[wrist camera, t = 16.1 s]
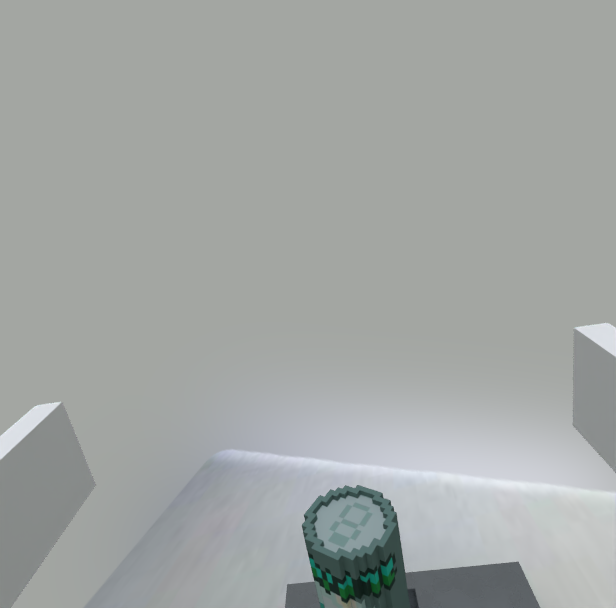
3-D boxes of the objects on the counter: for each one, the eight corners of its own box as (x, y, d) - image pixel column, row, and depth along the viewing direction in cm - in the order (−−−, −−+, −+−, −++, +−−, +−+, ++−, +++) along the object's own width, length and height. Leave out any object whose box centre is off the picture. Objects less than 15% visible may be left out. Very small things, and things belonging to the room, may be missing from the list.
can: (323, 687, 34) (286, 536, 29) (361, 617, 38) (334, 477, 34) (397, 736, 30) (367, 574, 26) (429, 653, 35) (409, 501, 30)
